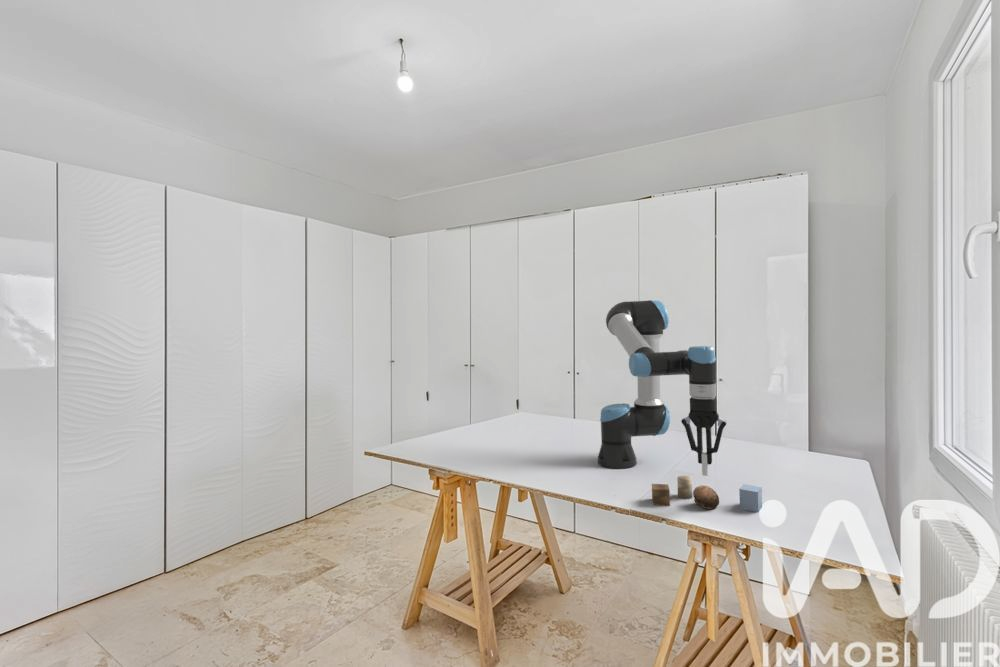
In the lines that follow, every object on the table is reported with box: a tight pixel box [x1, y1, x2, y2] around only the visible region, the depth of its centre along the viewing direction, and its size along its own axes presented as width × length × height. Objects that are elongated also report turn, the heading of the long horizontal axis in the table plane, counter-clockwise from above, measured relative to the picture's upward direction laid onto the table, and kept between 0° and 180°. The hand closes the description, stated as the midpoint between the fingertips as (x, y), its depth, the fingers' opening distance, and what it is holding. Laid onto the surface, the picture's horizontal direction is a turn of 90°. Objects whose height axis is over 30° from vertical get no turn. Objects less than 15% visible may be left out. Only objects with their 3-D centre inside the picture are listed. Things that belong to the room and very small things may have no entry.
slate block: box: [738, 483, 763, 513], centre depth 145 cm, size 5×5×6 cm
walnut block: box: [651, 483, 671, 507], centre depth 152 cm, size 5×5×5 cm
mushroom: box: [692, 484, 720, 510], centre depth 148 cm, size 8×8×6 cm
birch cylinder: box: [676, 475, 694, 500], centre depth 156 cm, size 4×4×6 cm
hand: (705, 474), depth 147 cm, fingers closed
